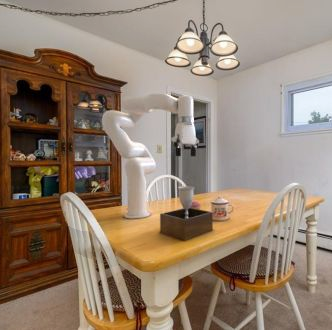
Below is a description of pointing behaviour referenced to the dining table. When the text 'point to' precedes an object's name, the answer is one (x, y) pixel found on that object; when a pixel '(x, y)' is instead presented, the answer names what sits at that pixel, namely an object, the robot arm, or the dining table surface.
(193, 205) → the red onion
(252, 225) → the dining table surface
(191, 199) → the chalice
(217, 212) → the teacup with lid
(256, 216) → the dining table surface
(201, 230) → the crate
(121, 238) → the dining table surface
